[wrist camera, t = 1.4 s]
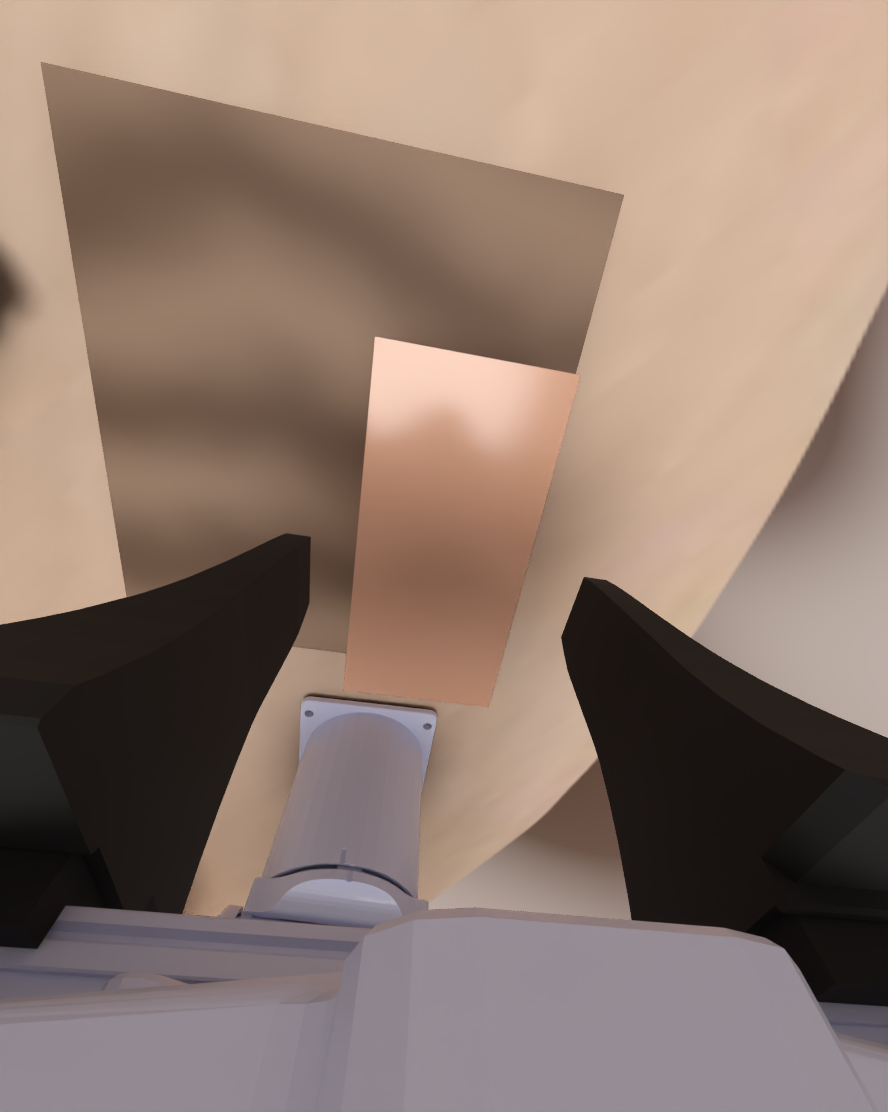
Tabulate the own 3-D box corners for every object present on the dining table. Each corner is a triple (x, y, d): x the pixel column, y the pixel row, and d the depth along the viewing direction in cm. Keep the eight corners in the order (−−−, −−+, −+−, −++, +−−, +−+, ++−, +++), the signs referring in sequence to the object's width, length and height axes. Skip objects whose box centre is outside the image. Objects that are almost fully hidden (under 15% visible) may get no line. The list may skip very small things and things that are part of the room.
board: (492, 659, 24) (503, 712, 20) (143, 616, 22) (87, 664, 19) (612, 204, 16) (667, 155, 12) (66, 82, 14) (-64, -19, 10)
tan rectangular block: (475, 621, 22) (488, 707, 16) (366, 607, 21) (343, 690, 16) (533, 371, 17) (580, 374, 12) (394, 345, 16) (374, 336, 11)
